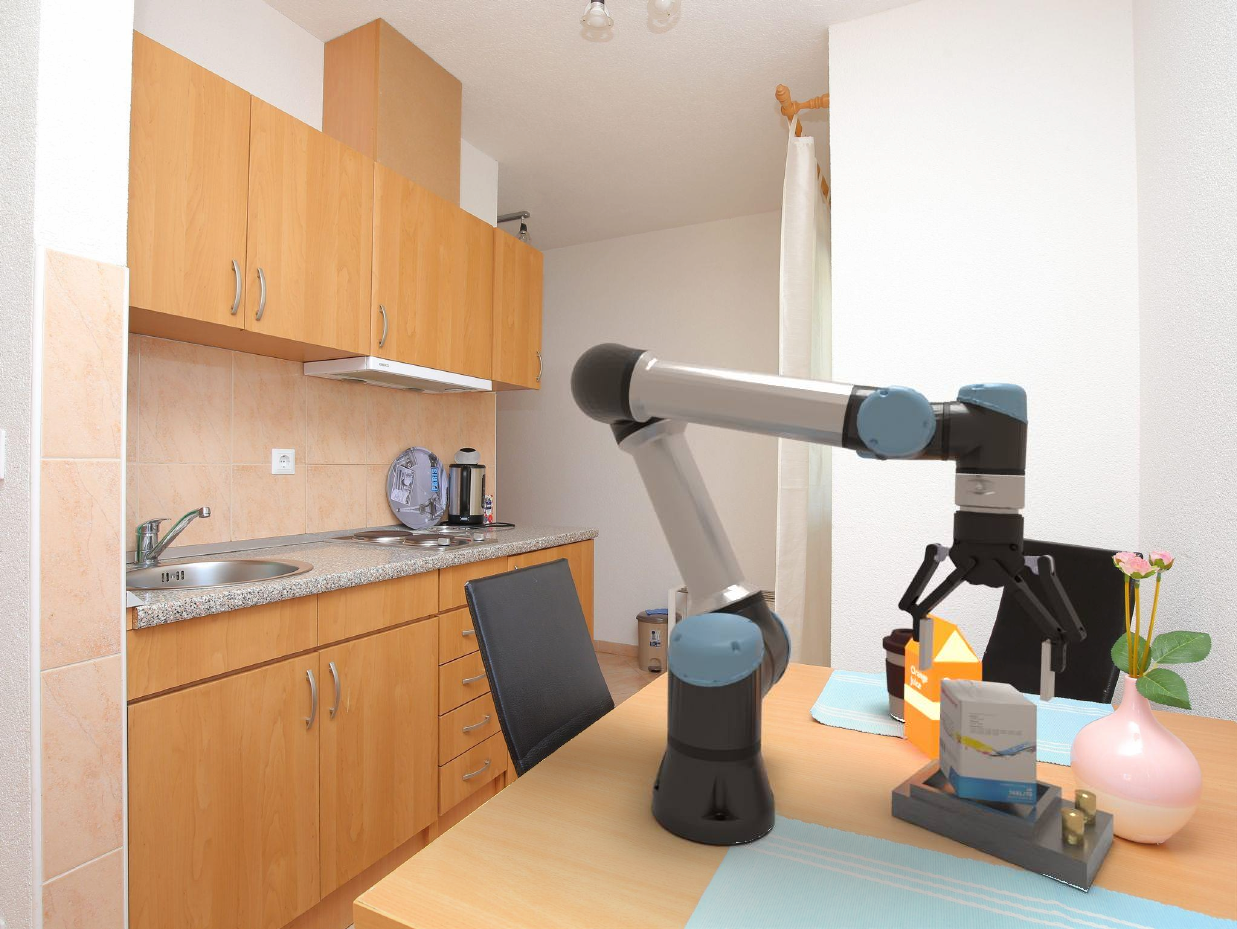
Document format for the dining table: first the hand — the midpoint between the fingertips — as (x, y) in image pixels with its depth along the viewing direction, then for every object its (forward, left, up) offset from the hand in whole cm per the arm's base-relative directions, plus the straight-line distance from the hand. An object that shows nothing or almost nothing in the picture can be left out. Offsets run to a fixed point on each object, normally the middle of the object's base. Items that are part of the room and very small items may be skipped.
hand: (982, 682), depth 79 cm
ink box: (0, 0, -13) cm, 13 cm away
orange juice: (-12, +19, -17) cm, 28 cm away
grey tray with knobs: (+2, 0, -17) cm, 17 cm away
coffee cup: (-20, +28, -17) cm, 38 cm away
